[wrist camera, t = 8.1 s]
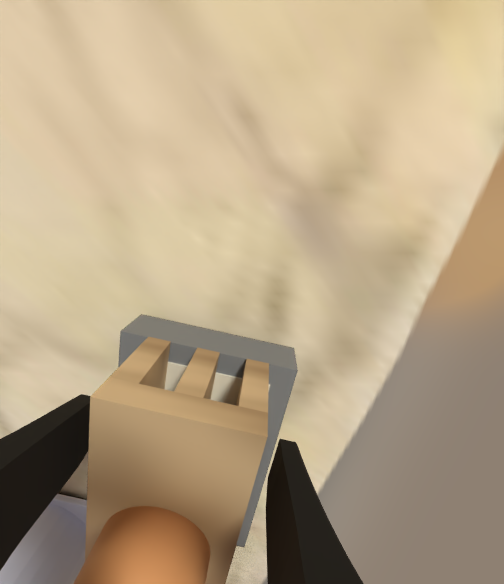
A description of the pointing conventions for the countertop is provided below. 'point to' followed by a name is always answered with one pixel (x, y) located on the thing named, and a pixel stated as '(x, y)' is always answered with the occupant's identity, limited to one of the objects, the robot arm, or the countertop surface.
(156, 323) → the dock
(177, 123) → the countertop surface
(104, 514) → the pallet
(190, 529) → the brown egg
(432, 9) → the countertop surface
